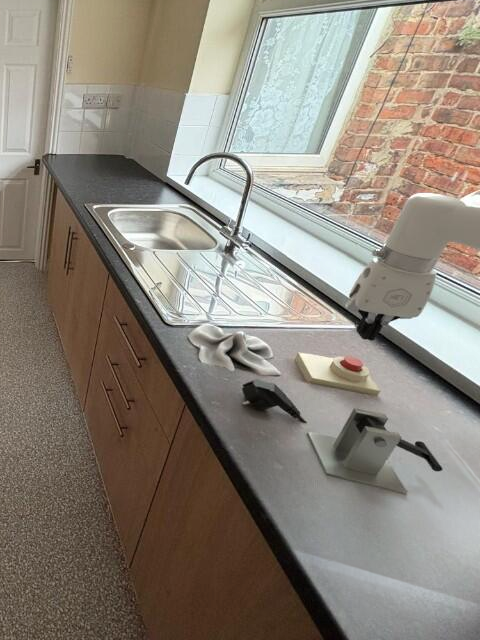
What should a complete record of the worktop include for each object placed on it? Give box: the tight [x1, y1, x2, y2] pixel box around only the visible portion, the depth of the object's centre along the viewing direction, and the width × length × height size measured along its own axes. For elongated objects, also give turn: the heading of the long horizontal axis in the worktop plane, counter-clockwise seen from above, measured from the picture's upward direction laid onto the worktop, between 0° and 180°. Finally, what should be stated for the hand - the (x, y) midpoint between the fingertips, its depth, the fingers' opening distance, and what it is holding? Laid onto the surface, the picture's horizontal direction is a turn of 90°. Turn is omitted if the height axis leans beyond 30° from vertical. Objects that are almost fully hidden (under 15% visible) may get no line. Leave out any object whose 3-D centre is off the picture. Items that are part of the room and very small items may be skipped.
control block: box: [294, 351, 381, 397], centre depth 92 cm, size 12×9×4 cm
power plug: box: [241, 378, 308, 424], centre depth 84 cm, size 6×8×12 cm
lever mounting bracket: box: [306, 407, 408, 495], centre depth 71 cm, size 11×9×11 cm
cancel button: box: [341, 355, 364, 372], centre depth 90 cm, size 3×3×2 cm
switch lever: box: [356, 417, 443, 473], centre depth 69 cm, size 11×5×2 cm, turn 72°
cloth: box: [187, 323, 282, 377], centre depth 99 cm, size 22×19×6 cm
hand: (364, 336), depth 87 cm, fingers closed
